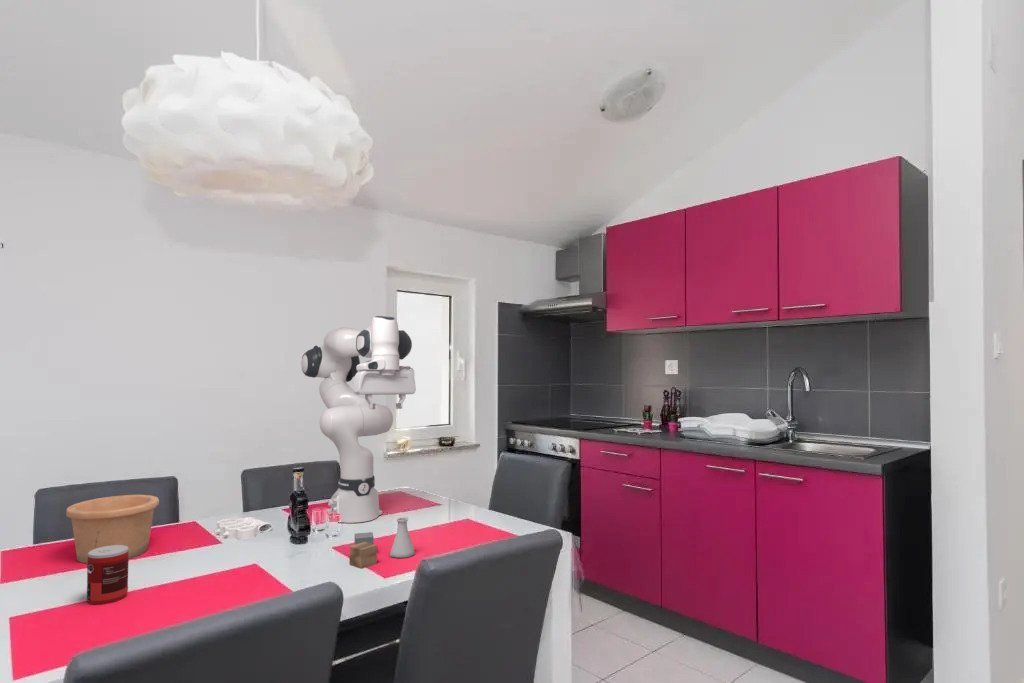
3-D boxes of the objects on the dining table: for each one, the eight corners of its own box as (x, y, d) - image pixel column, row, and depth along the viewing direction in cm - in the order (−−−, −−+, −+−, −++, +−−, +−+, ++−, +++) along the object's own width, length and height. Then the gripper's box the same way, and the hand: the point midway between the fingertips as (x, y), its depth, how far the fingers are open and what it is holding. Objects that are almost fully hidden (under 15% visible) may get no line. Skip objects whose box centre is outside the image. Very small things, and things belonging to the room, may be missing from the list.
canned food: (99, 592, 140) (100, 545, 141) (134, 591, 141) (135, 544, 141) (78, 605, 133) (79, 555, 133) (116, 604, 133) (117, 554, 134)
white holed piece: (277, 533, 189) (231, 544, 178) (249, 523, 201) (204, 533, 189) (277, 522, 189) (231, 533, 178) (249, 513, 201) (205, 523, 189)
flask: (409, 559, 163) (409, 522, 163) (384, 557, 164) (385, 521, 165) (419, 551, 170) (419, 516, 170) (395, 549, 171) (395, 514, 172)
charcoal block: (354, 551, 170) (354, 533, 170) (372, 549, 172) (372, 532, 172) (355, 556, 166) (355, 538, 166) (373, 554, 167) (373, 537, 167)
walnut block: (349, 565, 159) (349, 546, 159) (364, 560, 163) (364, 541, 163) (361, 569, 156) (361, 549, 156) (376, 564, 159) (376, 545, 160)
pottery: (175, 548, 174) (175, 498, 174) (95, 572, 154) (96, 516, 154) (128, 538, 183) (128, 491, 183) (47, 560, 163) (48, 508, 163)
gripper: (409, 367, 199) (409, 408, 197) (351, 365, 186) (351, 410, 184) (418, 365, 194) (419, 408, 192) (360, 363, 181) (360, 409, 180)
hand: (385, 409), depth 188 cm, fingers open, 8 cm apart
